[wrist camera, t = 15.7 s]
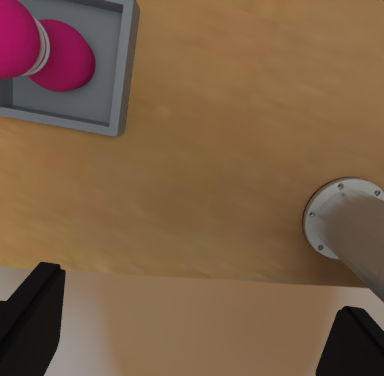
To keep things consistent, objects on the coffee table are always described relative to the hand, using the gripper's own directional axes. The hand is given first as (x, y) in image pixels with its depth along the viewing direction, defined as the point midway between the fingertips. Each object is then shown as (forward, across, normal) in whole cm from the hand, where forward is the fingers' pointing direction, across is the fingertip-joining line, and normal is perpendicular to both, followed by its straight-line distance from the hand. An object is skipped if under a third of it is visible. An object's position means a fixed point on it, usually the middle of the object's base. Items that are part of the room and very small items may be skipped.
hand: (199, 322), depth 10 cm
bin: (+33, +16, -9) cm, 38 cm away
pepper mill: (+32, +16, -9) cm, 37 cm away
